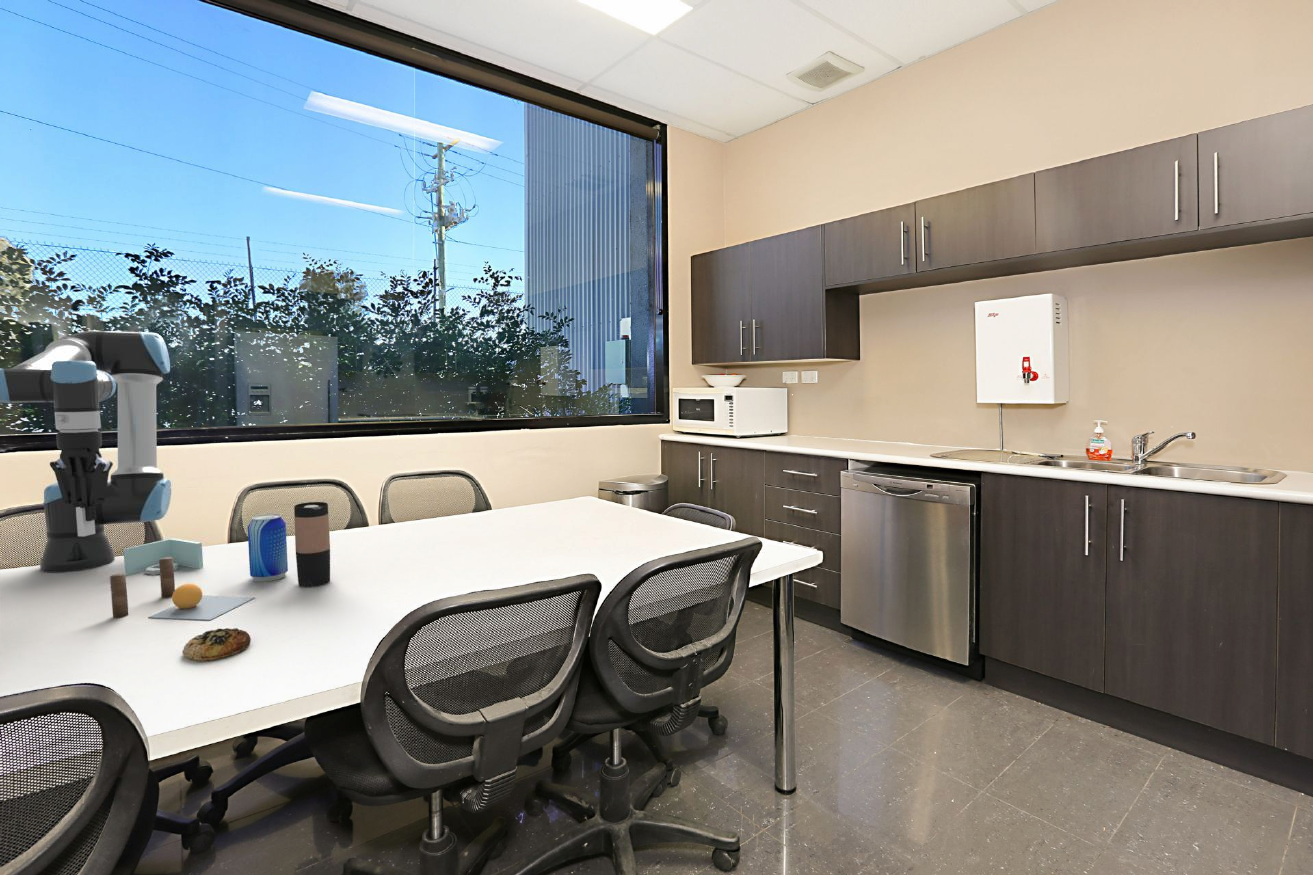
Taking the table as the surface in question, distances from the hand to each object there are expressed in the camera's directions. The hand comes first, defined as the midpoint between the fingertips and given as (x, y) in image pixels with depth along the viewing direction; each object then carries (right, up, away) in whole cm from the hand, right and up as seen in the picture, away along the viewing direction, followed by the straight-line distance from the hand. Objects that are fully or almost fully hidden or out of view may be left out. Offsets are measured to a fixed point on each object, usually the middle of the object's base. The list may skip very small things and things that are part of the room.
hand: (86, 534), depth 146 cm
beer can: (+28, -14, +21) cm, 38 cm away
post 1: (+12, -17, -6) cm, 21 cm away
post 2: (+13, -15, +7) cm, 21 cm away
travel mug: (+42, -15, +17) cm, 48 cm away
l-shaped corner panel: (-2, -14, +26) cm, 30 cm away
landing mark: (+27, -16, 0) cm, 31 cm away
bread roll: (+44, -19, -22) cm, 53 cm away
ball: (+23, -14, -1) cm, 27 cm away
